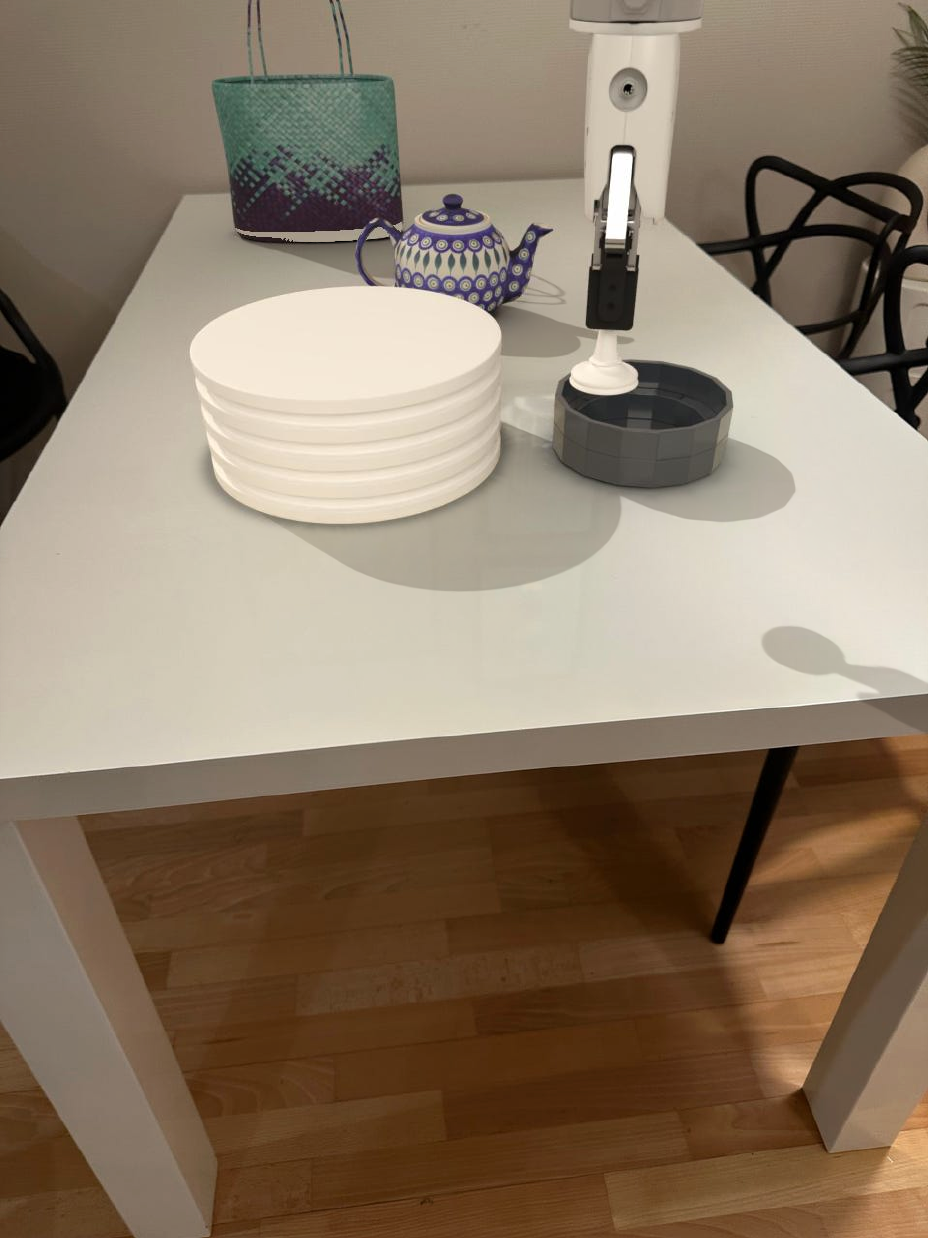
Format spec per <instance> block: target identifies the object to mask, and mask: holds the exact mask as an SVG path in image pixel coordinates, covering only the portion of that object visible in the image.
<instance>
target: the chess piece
mask: <svg viewBox="0 0 928 1238" xmlns="http://www.w3.org/2000/svg"><path fill="white" fill-rule="evenodd" d="M617 331H618V330H600V329H598V334H597V338H596V344H595V348H594V352H593V354H592V355H591V356H590V357H589V358H588V360H583V361H581V362H579V363H576V364H575V365H574V366H573V367H572V368H571V371H570V373H571V376H570V379H569V381H570V384H571V385H572V386H573V387H574V388H576V389H578V390H580V391H583V392H586V393H590V394H596V395H617V394H623V393H626V392H629V391H631V390H633V389H634V388H636V387H637V385H638V379H637V378H638V372H637V370H636V369H635V368H634V367H633V366H631V365H629V364H627V363H625V362H622V360H623V359H622V357H620V356H619V353H618V334H617Z"/></svg>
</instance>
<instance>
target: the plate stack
mask: <svg viewBox="0 0 928 1238" xmlns="http://www.w3.org/2000/svg"><path fill="white" fill-rule="evenodd" d="M502 335H503V334H502V329H501V327H500V325H499V323H498V322H497V320H496V319H495V317H493V315H492V314H491V313H490V314H489V313H487V312H486V311H485V310H483V309H481V308H480V307H478V306H476V305H474V304H472V303H469V302H467V301H464V300H462V299H459V298H456V297H452V296H449V295H445V294H441V293H436V292H431V291H425V290H419V289H411V288H401V287H386V286H369V285H355V286H354V285H353V286H351V285H350V286H333V287H325V288H324V287H323V288H314V289H308V290H300V291H294V292H289V293H285V294H279V295H276V296H271V297H267V298H264V299H260V300H257V301H254V302H250V303H247V304H245V305H242V306H239V307H237V308H233V309H232V310H230V311H228V312H226V313H224V314H222V315H219V316H218V317H216V318H215V319H213V320H211V321H210V322H209V323H207V324H206V325H205V326H203V327H202V328H201V329H200V330H199V331H198V332H197V333H196V335H194V337H193V339H192V341H191V343H190V347H189V359H190V363H191V368H192V372H193V374H194V375H195V381H194V382H195V386H196V391H197V396H198V399H199V401H200V410H201V415H202V419H203V424H204V428H205V431H206V432H205V433H206V434H205V435H206V439H207V444H208V449H209V451H210V454H211V455H210V456H211V462H212V467H213V472H214V476H215V478H216V480H217V482H218V484H219V485H220V486H221V488H222V489H223V490H224V491H225V492H226V494H228V495H229V496H231V498H233V499H235V500H236V501H238V502H239V503H241V504H243V505H245V506H246V507H249V508H250V509H253V510H255V511H258V512H260V513H264V514H267V515H269V516H273V517H277V518H281V519H287V520H291V521H296V522H297V521H298V522H302V523H303V522H304V523H314V524H327V525H348V524H349V525H352V524H366V523H376V522H384V521H390V520H395V519H402V518H406V517H411V516H414V515H418V514H421V513H424V512H428V511H431V510H434V509H437V508H440V507H442V506H444V505H446V504H449V503H451V502H454V501H456V500H458V499H460V498H462V497H464V496H465V495H467V494H468V493H470V492H472V491H473V490H475V489H476V488H477V487H478V486H479V485H481V484H482V483H483V482H484V481H485V480H486V479H487V478H488V477H489V476H490V475H491V474H492V473H493V472H494V470H495V468H496V466H497V464H498V462H499V460H500V456H501V426H502V424H501V421H502V412H501V403H502V386H501V385H502V384H501V380H502V358H501V354H502V344H503V343H502V341H503V340H502V338H503V337H502Z"/></svg>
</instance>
